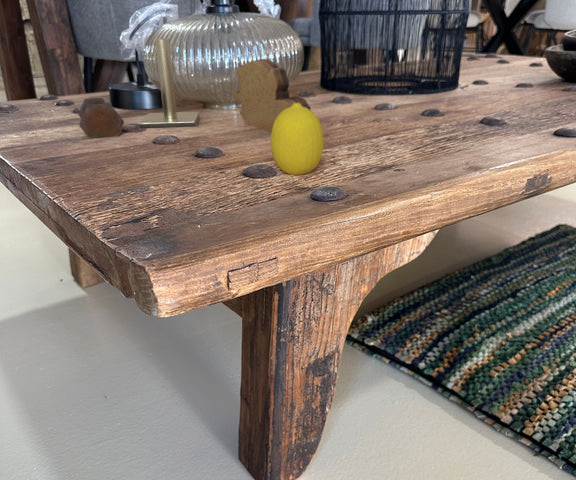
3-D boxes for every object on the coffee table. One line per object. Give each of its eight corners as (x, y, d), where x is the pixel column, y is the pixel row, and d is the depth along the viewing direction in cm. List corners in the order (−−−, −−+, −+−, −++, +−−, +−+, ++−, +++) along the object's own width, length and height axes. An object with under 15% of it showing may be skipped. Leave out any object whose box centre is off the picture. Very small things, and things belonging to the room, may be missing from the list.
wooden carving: (321, 142, 76) (322, 62, 71) (295, 148, 74) (294, 65, 69) (250, 123, 88) (247, 53, 83) (225, 128, 85) (220, 56, 80)
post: (141, 131, 84) (128, 41, 78) (149, 120, 91) (138, 37, 85) (195, 129, 84) (187, 40, 79) (199, 119, 92) (192, 36, 86)
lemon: (278, 189, 58) (276, 109, 55) (267, 174, 63) (264, 99, 59) (329, 185, 59) (331, 105, 56) (315, 170, 64) (315, 96, 60)
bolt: (103, 134, 91) (112, 152, 78) (71, 120, 88) (75, 136, 76) (116, 99, 90) (128, 112, 77) (84, 84, 87) (91, 95, 74)
